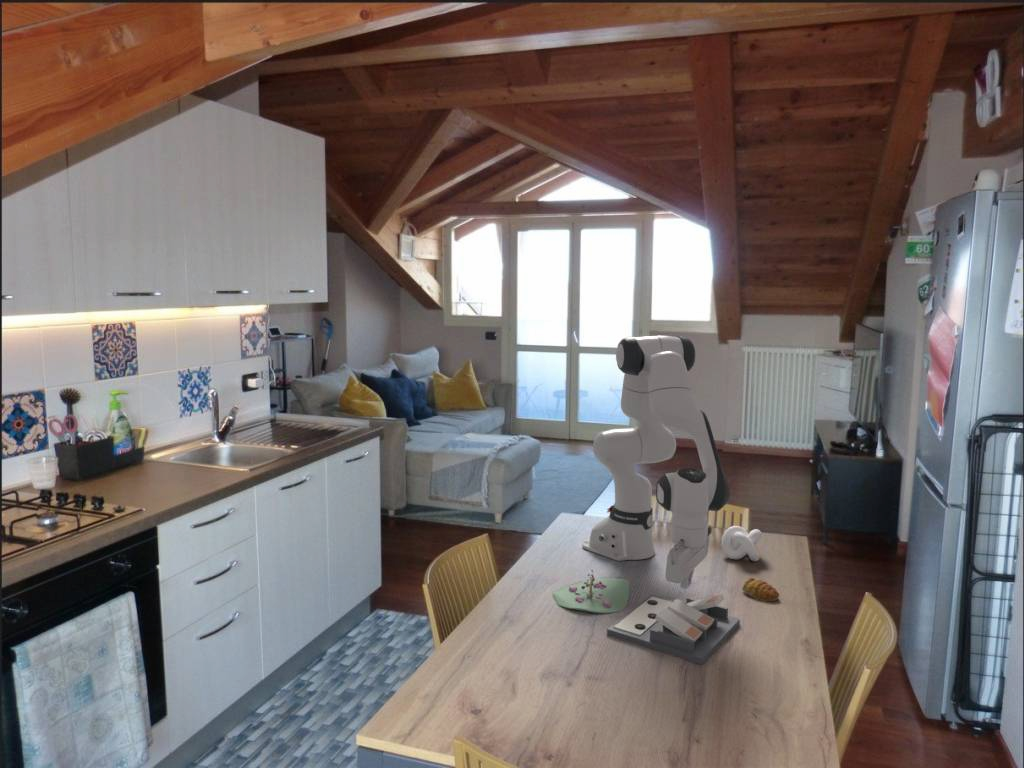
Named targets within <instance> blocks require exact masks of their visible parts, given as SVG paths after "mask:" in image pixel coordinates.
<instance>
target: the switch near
mask: <svg viewBox="0 0 1024 768" xmlns="http://www.w3.org/2000/svg"><path fill="white" fill-rule="evenodd" d="M655 620H656V621H658V622H659V623H661V624H662V625H664V626H665V627H667V628H668V629H670V630H671V631H673V632H674V633H676V634H677V635H678V636H680V637H681V638H685V639H688V640H691V641H696V640H697V639H698V638H699V637H700V636H701V634H702V632H701V631H700V630H698V629H697V628H695V627H694V626H692V625H691V624H689V623H688V622H686V621H685V620H683V619H682V618H680V617H679V616H677V615H676V614H674V613H673V612H671V611H670V610H668V609H667V608H665V609H663V610H662V611H661V612H660V613H659V614H657V615H656V617H655Z"/></svg>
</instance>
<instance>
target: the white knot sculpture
mask: <svg viewBox="0 0 1024 768" xmlns="http://www.w3.org/2000/svg"><path fill="white" fill-rule="evenodd" d="M761 538H762V532H761V530H760V529H757V528H755V529H752V530H751V531H749V532H748V531H746V529H745V528H743V527H742V526H739V525H732V526H730V527H728V528H727V529H726V530H724V533H723V535H722V537H721V549H722V551H723V554H724V555H725V556H726V557H727V558H729V559H730V560H733V559H734V560H735V561H738V560H741V559H743V558H744V557H745V556H748V559H750V561H752V562H758V561H759V560H760V553H759V551H758V549H757V548H756V546H757V544H758V543H759V541H760V540H761Z"/></svg>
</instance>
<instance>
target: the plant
mask: <svg viewBox="0 0 1024 768" xmlns="http://www.w3.org/2000/svg"><path fill="white" fill-rule="evenodd" d="M591 573H592V574H591V575H590V573H588V575H587V577H589V579H587V580H584V581H581V582H577V583H573V584H570V585H569V584H568V585H566V586H562V587H560V588H558V589H556V590H554V591H553V593H552V598H553V599H554V601H555V603H556V604H557V605H558V606H559V607H562V608H565V609H571V610H576V611H582V612H587V613H593V614H613V613H616V612H619V611H621V610H624V609H625V608H626V607H627V603H628V599H629V596H630V595H629V592H630V586H629V585H630V584H629V582H628V581H626V580H625V579H621V578H620V579H619V578H605V577H600V578H597V577H596V576H594V570H593V569H591ZM595 578H596V579H595Z"/></svg>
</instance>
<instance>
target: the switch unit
mask: <svg viewBox="0 0 1024 768" xmlns="http://www.w3.org/2000/svg"><path fill="white" fill-rule="evenodd" d="M697 600H698V599H696V598H691V597H686V604H687V603H689V602H693V601H697ZM674 601H675V600H673V599H669V598H665V597H662V596H658V595H654V594H650V595H648V597H645V599H644V600H642V601H641V602H640V603H638V604H637V605H636V606H635V607H633V608H632V609H631V610H629V611H628V612H627V613H626V614H624V615H623V616H622V617H621V618H619V619H618V620H616V622H614V623H613V624H611V625H610V626H609V627H608V628H607V629H606V635H607V636H609V637H613V638H616V639H619V640H623V641H625V642H629V643H631V644H635V645H638V646H640V647H644V648H648V649H651V650H653V651H656V652H660V653H663V654H666V655H669V656H673V657H675V658H679V659H681V660H685V661H688V662H691V663H694V664H698V665H700V666H703V665H704V664H705V663H706V661H708V660H709V658H710V657H711V656H712V655H713V654H714V653H715V652H716V651H717V650H718V648H719V647H721V645H722V644H723V643H724V642H725V641H726V640H727V639H728V638H729V637H730V635H732V634H733V632H734V631H736V629H737V628H738V627H739V626H740V623H741V618H738V617H735V616H732V615H729V607H725V606H721V605H719V604H718V605H717V606H715V607H711V608H707V609H703V610H698V611H700V612H702V613H704V614H706V615H707V616H709V617H711V618H713V619H714V622H713V624H712V625H711V626H710V627H709V628H708V629H707V630H706V629H702V628H699V627H696V626H694V625H692V624H691V623H689V622H688V623H689V624H691V625H692V626H694V627H695V628H697V629H698V630H700V631H701V632H702V634H701V636H700V637H699V638H698V639H697V640H696V641H691V640H688V639H685V638H681V637H680V636H678V635H677V634H676V633H674V632H673V631H671V630H670V629H668V628H667V627H665V626H664V625H662V624H661V623H659V622H658V621H656V620H655V617H656V615H657V614H659V613H660V612H661V611H662V610H663V609H665V608H667V609H668V606H669V605H670V604H671V603H673V602H674ZM686 622H687V621H686Z"/></svg>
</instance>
